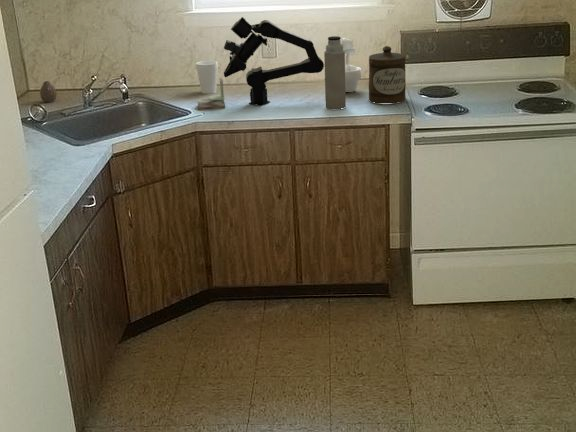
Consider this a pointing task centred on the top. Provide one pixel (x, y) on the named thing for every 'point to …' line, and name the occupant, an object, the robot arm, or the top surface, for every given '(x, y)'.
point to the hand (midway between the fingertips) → (224, 75)
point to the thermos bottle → (334, 74)
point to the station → (211, 105)
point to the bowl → (204, 100)
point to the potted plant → (350, 67)
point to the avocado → (48, 92)
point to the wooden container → (387, 77)
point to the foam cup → (207, 76)
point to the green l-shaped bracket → (218, 97)
